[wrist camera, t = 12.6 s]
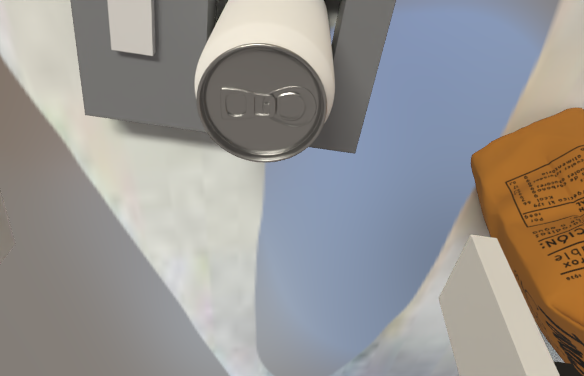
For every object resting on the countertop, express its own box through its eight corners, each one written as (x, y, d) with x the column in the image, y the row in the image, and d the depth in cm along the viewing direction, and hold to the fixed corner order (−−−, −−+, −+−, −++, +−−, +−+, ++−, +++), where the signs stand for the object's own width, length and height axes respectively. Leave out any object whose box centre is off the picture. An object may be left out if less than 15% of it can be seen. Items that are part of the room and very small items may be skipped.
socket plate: (407, -88, 26) (419, -79, 23) (351, 131, 34) (355, 158, 31) (77, -146, 25) (46, -144, 22) (101, 95, 33) (81, 119, 30)
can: (324, 72, 32) (330, 174, 22) (228, 67, 32) (192, 166, 22) (333, -32, 28) (345, 37, 18) (224, -38, 28) (178, 28, 18)
